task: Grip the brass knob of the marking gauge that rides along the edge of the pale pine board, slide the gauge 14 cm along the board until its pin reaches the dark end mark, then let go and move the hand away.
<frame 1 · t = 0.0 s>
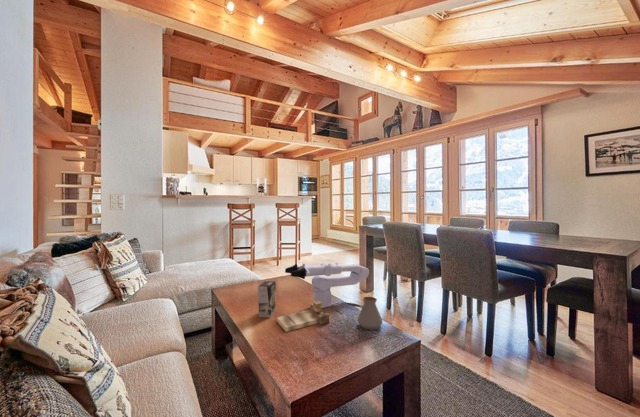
hand: (288, 272, 141), 22 cm above the table, tool horizontal, fingers open, 7 cm apart
marking gauge: (318, 310, 135), point 4 cm above the table, slide at 0.0 cm
coffee pot: (362, 329, 123), on the table
pine board: (302, 320, 132), on the table
coffee box: (267, 314, 141), on the table
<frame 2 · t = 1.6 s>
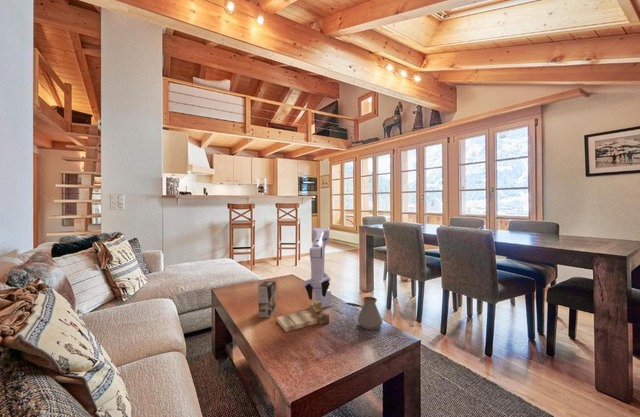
hand: (317, 297, 135), 10 cm above the table, tool pointing down, fingers open, 7 cm apart
nothing on the table moved.
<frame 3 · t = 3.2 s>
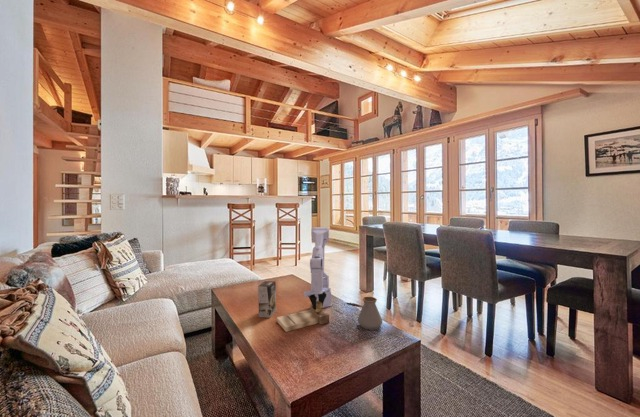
hand: (317, 308, 135), 5 cm above the table, tool pointing down, fingers closed on marking gauge, 3 cm apart
marking gauge: (318, 310, 135), point 4 cm above the table, slide at 0.0 cm, touching gripper
everything else where it was.
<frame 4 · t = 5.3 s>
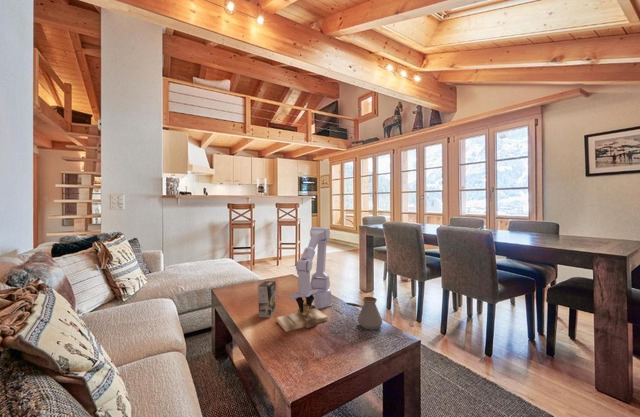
hand: (304, 311, 132), 5 cm above the table, tool pointing down, fingers closed on marking gauge, 3 cm apart
marking gauge: (305, 313, 131), point 4 cm above the table, slide at 7.1 cm, touching gripper
everything else where it was.
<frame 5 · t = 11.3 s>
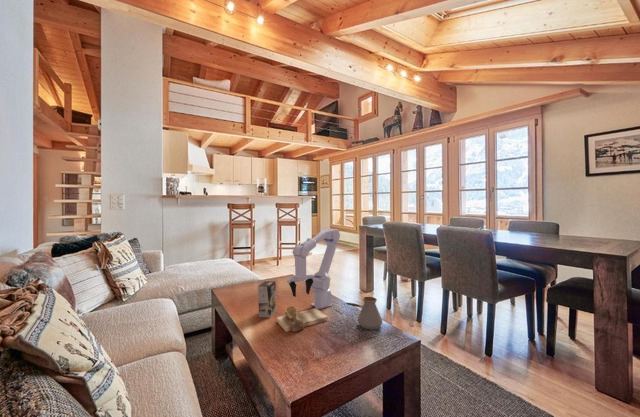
hand: (301, 294, 139), 10 cm above the table, tool pointing down, fingers open, 7 cm apart
marking gauge: (292, 316, 128), point 4 cm above the table, slide at 14.0 cm
everything else where it was.
at the end: marking gauge slide at 14.0 cm; the gripper is holding nothing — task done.
